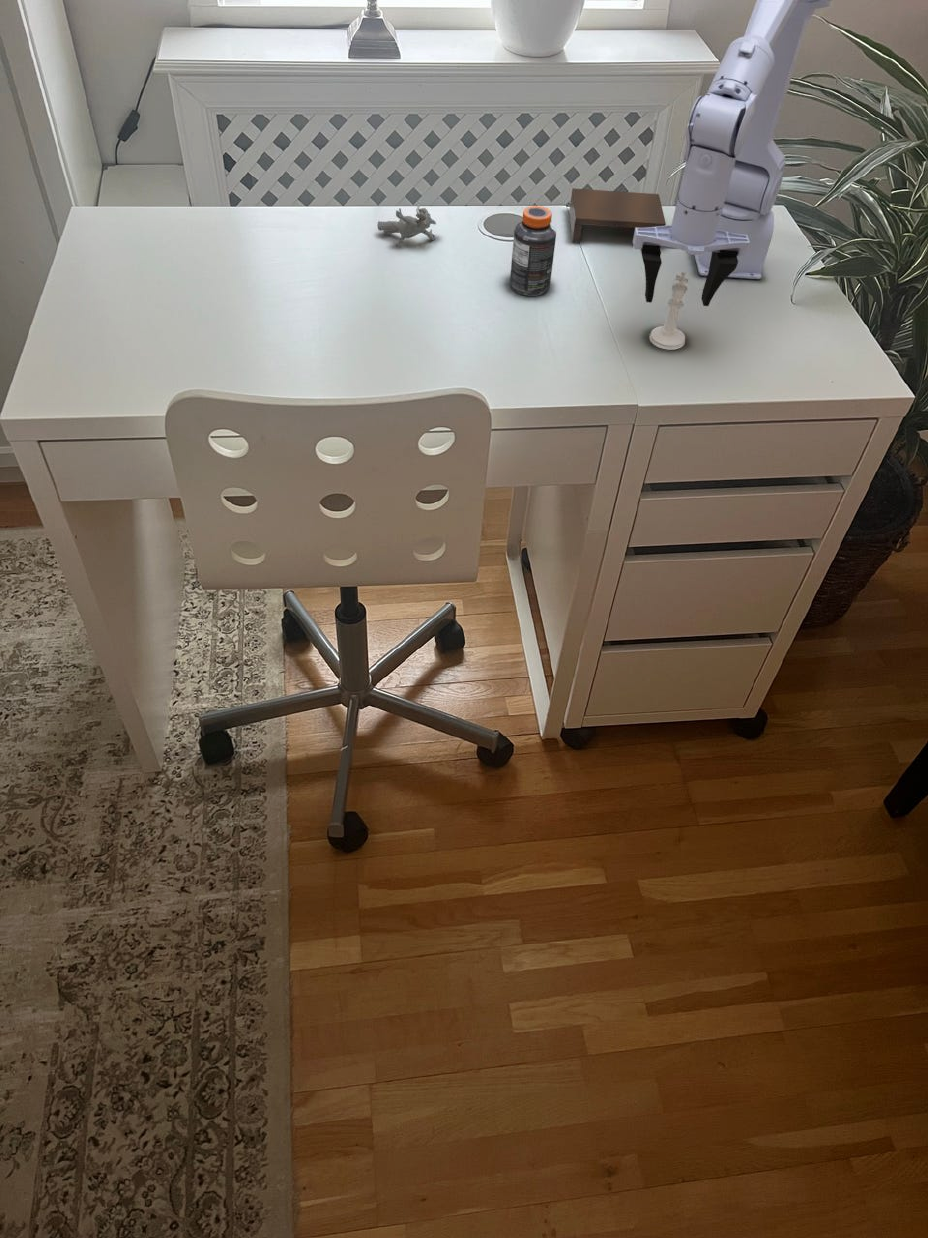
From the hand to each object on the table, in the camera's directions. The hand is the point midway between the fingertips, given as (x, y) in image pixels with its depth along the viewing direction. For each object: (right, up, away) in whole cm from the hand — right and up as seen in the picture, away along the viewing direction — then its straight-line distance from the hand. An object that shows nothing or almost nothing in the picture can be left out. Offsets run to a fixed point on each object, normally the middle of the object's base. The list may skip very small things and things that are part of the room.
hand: (676, 300), depth 130 cm
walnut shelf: (-5, +20, +25) cm, 32 cm away
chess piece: (0, -4, +5) cm, 6 cm away
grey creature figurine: (-38, +14, +18) cm, 44 cm away
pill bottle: (-19, +6, +12) cm, 23 cm away
